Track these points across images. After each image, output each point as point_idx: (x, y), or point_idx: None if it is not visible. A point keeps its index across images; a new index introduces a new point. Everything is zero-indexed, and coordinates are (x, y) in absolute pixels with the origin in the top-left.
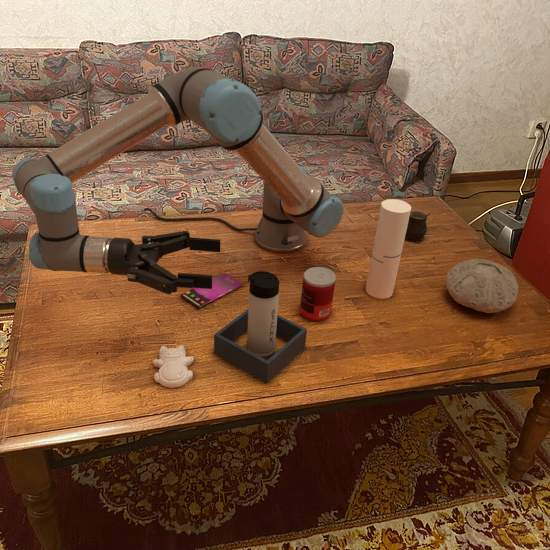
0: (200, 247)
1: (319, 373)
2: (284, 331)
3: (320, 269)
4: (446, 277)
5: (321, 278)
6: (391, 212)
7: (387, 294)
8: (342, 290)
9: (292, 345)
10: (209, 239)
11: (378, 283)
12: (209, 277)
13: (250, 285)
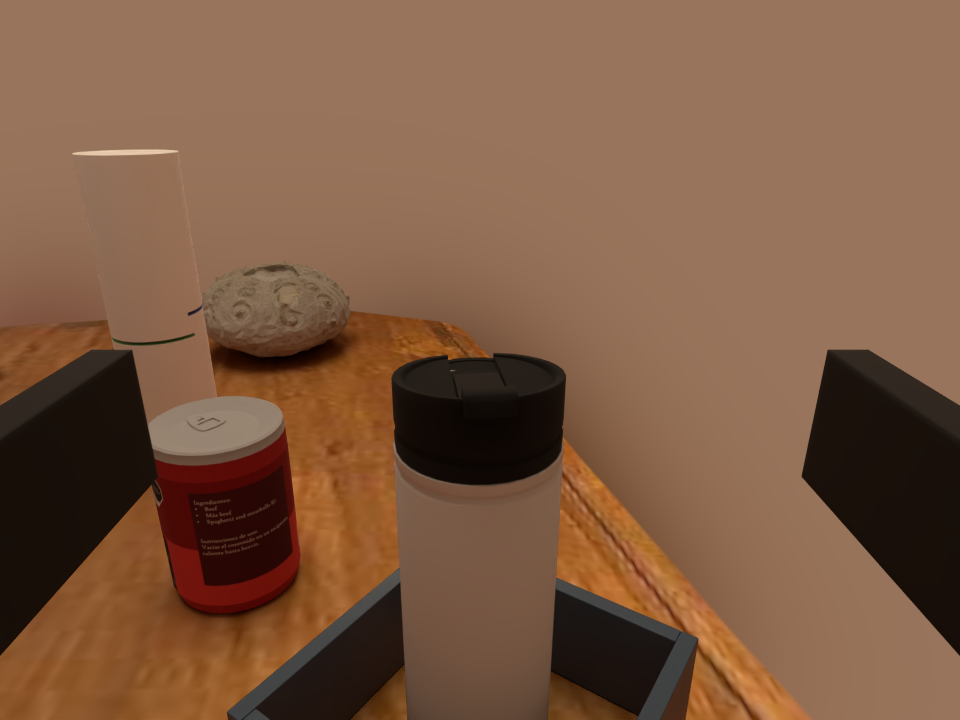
0: (1, 585)
1: (570, 572)
2: (396, 634)
3: (166, 423)
4: (231, 331)
5: (229, 424)
6: (160, 157)
7: None
8: (138, 508)
9: None
10: (27, 400)
11: None
12: (879, 362)
13: (511, 436)
